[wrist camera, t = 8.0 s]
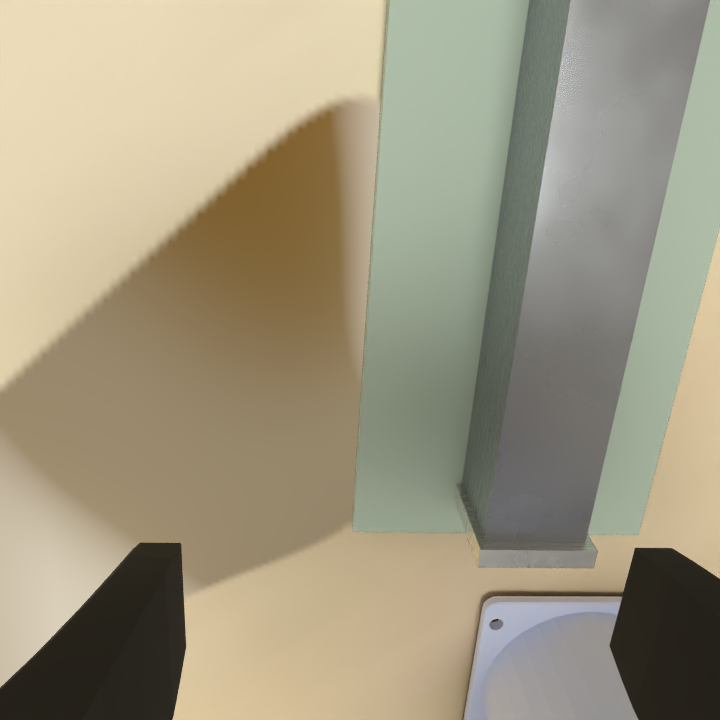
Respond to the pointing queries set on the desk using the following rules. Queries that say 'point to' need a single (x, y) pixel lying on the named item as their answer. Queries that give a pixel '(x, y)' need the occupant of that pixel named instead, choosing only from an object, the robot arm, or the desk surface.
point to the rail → (571, 267)
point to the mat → (474, 264)
